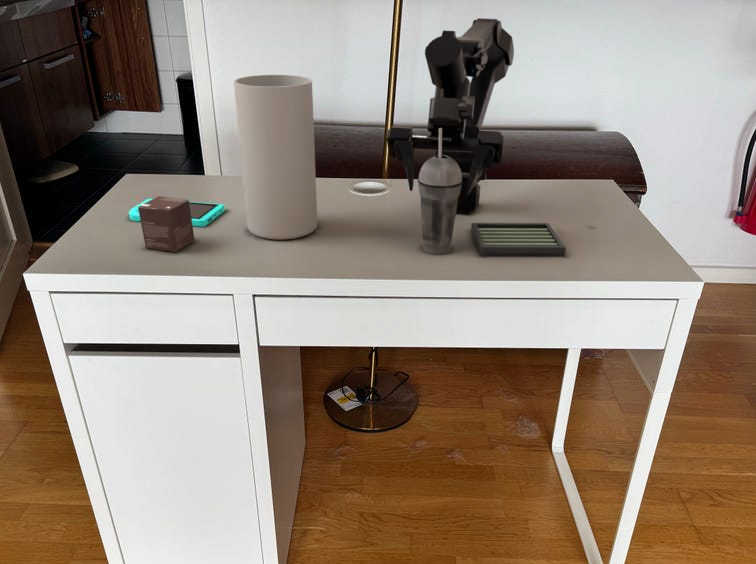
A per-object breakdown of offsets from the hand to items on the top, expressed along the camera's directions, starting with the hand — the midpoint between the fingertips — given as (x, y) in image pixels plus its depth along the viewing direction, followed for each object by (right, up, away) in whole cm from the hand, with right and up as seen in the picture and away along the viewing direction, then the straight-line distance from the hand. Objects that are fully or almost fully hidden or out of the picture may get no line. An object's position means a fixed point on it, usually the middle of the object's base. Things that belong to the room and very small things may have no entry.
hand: (438, 191), depth 110 cm
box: (-45, -8, +6) cm, 46 cm away
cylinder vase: (-27, -4, +13) cm, 30 cm away
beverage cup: (0, -8, +6) cm, 10 cm away
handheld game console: (-48, 0, +19) cm, 52 cm away
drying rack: (+14, -7, +8) cm, 18 cm away
